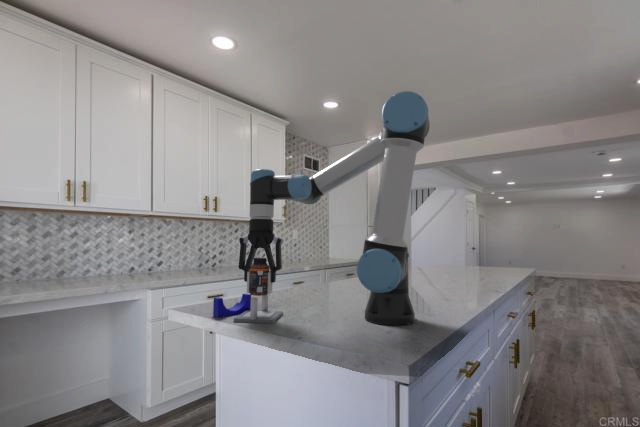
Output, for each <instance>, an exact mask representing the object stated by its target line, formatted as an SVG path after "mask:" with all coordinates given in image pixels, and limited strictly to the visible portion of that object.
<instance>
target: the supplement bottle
mask: <svg viewBox="0 0 640 427" xmlns="http://www.w3.org/2000/svg"><path fill="white" fill-rule="evenodd" d="M267 263H268V260H267V257H254V259H253V262H252V265H251V267H250V293H249V294H251V296H254V297H255V296H256V297H257V296H259V297H260V296H261V297H262V295H267V294H268V272H270V267H269V264H267ZM268 295H269V294H268Z"/></svg>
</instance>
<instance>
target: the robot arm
mask: <svg viewBox="0 0 640 427" xmlns="http://www.w3.org/2000/svg"><path fill="white" fill-rule="evenodd" d="M429 119H430V118H429V107H428V104H427V102H426V100H425V99H424V98H423V96H422V95H420V94H418V93H417V92H414V91H411V90H410V91H409V90H403V91H399V92H397V93H394V94H393V95H391V96H390V97H389V98H388V99H386V101H385V103H384V105H383V106H382V110H381V121H382V123H383V126H382V130H380V131H379V135H378V136H377V137H375V138H374V139H372V140H370V141H368V142H367V143H364V144H363V145H362V146H360V147H359V148H357V149H355V150H353V151H351V152H350V153H348V154H347V155H346V156H343V157H342V158H340V159H338V160H337V161H335V162H333V163H332V164H330V165H329V166H327V167H324V169H322V170H320V171H318V172H317V173H314V175H312V176H308V175H307V174H299V173H298V174H297V173H296V174H287V175H276V174H275V171H274V170H272V169H267V168H266V169H265V168H263V169H262V168H259V169H258V168H257V169H254V170H252V171H251V174H250V183H249V186H250V189H249V190H250V191H249V192H250V194H249V196H250V198H249V201H250V203H249V217H250V219H249V222H248V225H249V226H248V231H249V232H248V234H247V236H243V237H239V239H238V240H239V244H240V247H239V258H238V269H239V270H241V271H244V272H243V273H244V275H243V279H244V282H245V283H246V294H250V267H251V265H253V263H254V262H253V261H254V258H255V256H256V253H257V250H258V249H263V250H264V252H265V255H266V258H267V263H268V266H269V272H268V295H270V294H272V293H273V283H276V280H277V278H276V276H277V275H276V274H277V272H278V271H281V270H282V268H283V265H282V264H283V263H282V245H283V238H282V237H280V238H279V237H277V236H275V235H274V220H273V218H274V214H275V213H274V212H275V211H274V210H275V209H274V208H275V206H274V204H275V201H278V200H279V201H280V200H282V201H283V200H284V201H285V200H289V201H295V202H298V203H302V204H304V205H314V204H317V203H318V202H319V201H320V199H321V197H323V196H324V195H326V194H328V193H330V192H331V191H333V190H335V189H337V188H338V187H340V186H342V185H344V184H345V183H347V182H349V181H351V180H353V179H354V178H356V177H358V176H359V175H361V174H363V173H365V172H367V171H368V170H370V169H371V168H373V167H376V166H377V165H379V164H380V163H382V167H381V173H380V179H379V185H378V192H377V197H376V203H375V209H374V217H373V222H372V228H371V233H370V234H369V235H368V236H367V237H365V239H364V244H363V250H362V255H360V257H359V259H358V261H357V265H356V275H357V279H358V280H359V282H360V283H361V285H362V286H363V287H364V288H365V289H367V290H368V291H370V294H369V297H368V301H367V303H366V306H365V309H364V319H365V320H366V321H367V322H371V323H374V324H379V325H386V326H387V325H388V326H403V325H410V324H413V323H415V322H416V316H415V315H416V314H415V310H414V307H413V303H412V300H411V298H410V294H409V291H410V290H409V258H410V257H409V256H410V255H409V248H408V245H407V243H406V242H405V241H404V234H405V228H406V227H405V226H406V221H407V214H408V208H409V203H410V197H411V190H412V183H413V179H414V178H413V177H414V171H415V166H416V158H417V154H418V152H419V151H421V150H422V149H423V148H424V146H425V139H426V137H427V136H428V133H429V132H430V131H429V130H430V120H429ZM272 242H273V243H274V245H275V248H274V250H275V261H274V256H273V254H272V247H271V244H272ZM248 243H250V244H251V245H250V249H249V253H248V256H247V249H248ZM246 257H247V258H246Z"/></svg>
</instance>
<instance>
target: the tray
mask: <svg viewBox="0 0 640 427" xmlns="http://www.w3.org/2000/svg"><path fill="white" fill-rule="evenodd" d="M258 301H259V300H258V297H251V310H247V311H245V312H243V313H242V314H238V315H237V316H235V317H234V318H233V323H254V324H255V323H256V324H274V323H275V322H277V321H278V319H280V318H281V317H282V316H284V311H283V310H269V294H267V295H262V296H261V309H260V310H259V309H258V304H259V303H258Z"/></svg>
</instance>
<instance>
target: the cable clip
mask: <svg viewBox="0 0 640 427" xmlns="http://www.w3.org/2000/svg"><path fill="white" fill-rule="evenodd" d="M251 298H252V295H251V294H250V293H242V295H241V300H240V302H236V303H235V304H234V305H233V306H232V307H229V308H227V307H226V306H225V304H224V299H223V297H218V296H216V297H213V303H212V304H213V306H212V307H213V309H212V317H214V318H217V319H220V318H225V317H231V316H236V315H237V316H238V315H240V314H242V313H243V312H245V311H247V310H251Z"/></svg>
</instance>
